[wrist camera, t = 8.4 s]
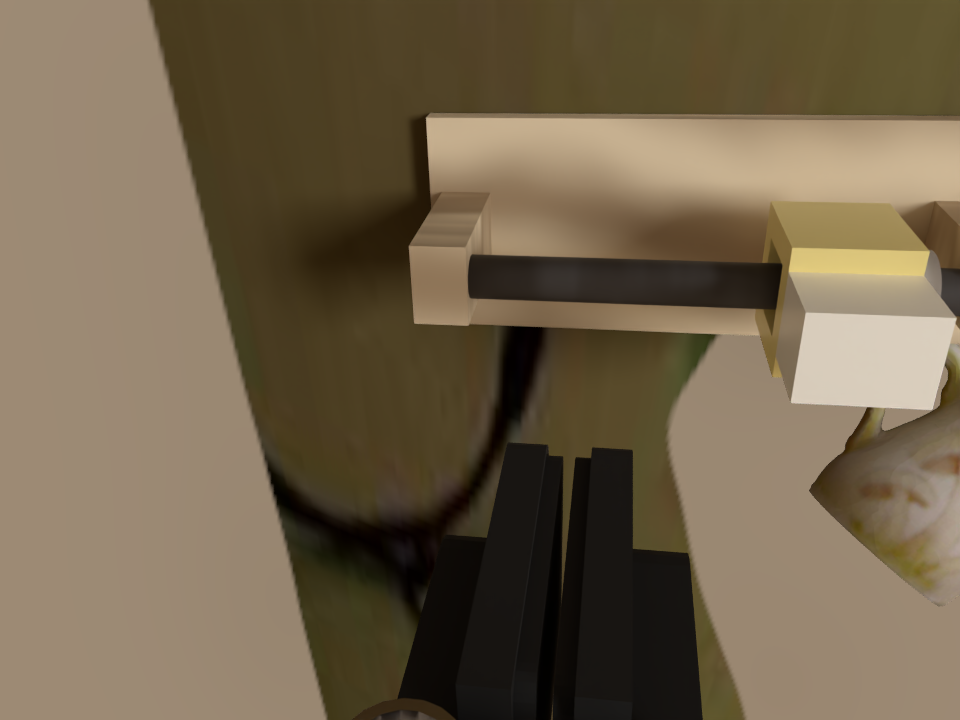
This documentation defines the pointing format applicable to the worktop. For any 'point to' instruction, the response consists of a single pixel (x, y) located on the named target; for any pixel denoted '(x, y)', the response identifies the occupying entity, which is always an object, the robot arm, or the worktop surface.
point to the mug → (904, 491)
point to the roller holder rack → (658, 212)
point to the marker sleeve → (853, 307)
